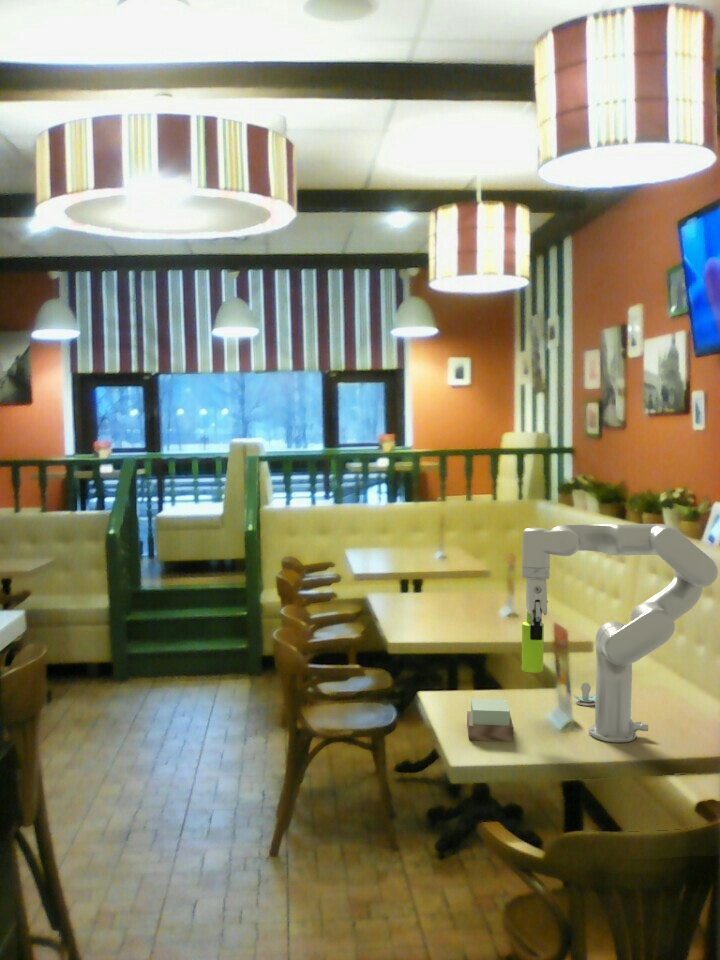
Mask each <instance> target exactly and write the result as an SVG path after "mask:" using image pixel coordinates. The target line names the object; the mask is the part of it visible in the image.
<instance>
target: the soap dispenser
mask: <svg viewBox="0 0 720 960" xmlns="http://www.w3.org/2000/svg"><path fill="white" fill-rule="evenodd" d="M548 603H549V601H548V600H547V604H548ZM533 614H536V612H533ZM521 625H522V627H521V630H522V631H521V671H523V672H526V673H529V674H530V673H531V674H537V673H542V672H544V641H545V640H544V636H545V631H544V630H545V629H544V627H545V624H544V623H543V622H542V640H531V639H530V625H532V623H531V615H530V614H529V612H528V610H527V611H526V621H524V622H522V623H521Z"/></svg>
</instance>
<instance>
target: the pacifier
mask: <svg viewBox="0 0 720 960" xmlns="http://www.w3.org/2000/svg"><path fill="white" fill-rule="evenodd" d="M591 689H592V687H591V685H590V684H589V683H588V682H582V684H581V685H580V690H581V694H582V695H581V696H578V695H575V694H574V695H573V697H574V698H575V699H576V700H578V701H576V704H578V705H579V706H584V707H588V706H589V707H591V706H595V701H596V694H592V695H590V692H591Z"/></svg>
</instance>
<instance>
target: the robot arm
mask: <svg viewBox="0 0 720 960" xmlns="http://www.w3.org/2000/svg"><path fill="white" fill-rule="evenodd" d="M521 550H522V554H521V555H522V556H521V557H522V559H521V562H522V563H521V564H522V565H521V578H522V579H525V605H526V610H527V611H528V612H529V614H530V615H531V623H532V625H530V639H531V640H542V623H543V615H544V616H547V614H548V603H547V601H548V586H547V580H549V579H550V577H551V575H550V572H551V571H550V570H551V569H550V566H551V555H552V556H558V557H570V556H573V555H575V554H576V553H578V551H580V552H581V551H586V552H589V551H590V552H597V553H603V554H606V555H609V556H610V555H611V556H621V557H622V556H659V557H660V558H661V559H662V560H663V561H664V562H665V563H666V564H667V565H669V566H670V568H672V569H673V570H674V576H673V578H672V580H671V582H670V583H669V584H667V586H666V587H664V588H663V589H661V590H660V591H659V592H657V593H656V594H654V595H652V596H651V597H649V598H648V599H646V600H644V601H643V602H641V603H640V604H638V605H636V606H635V607H634V608H633V609H632V611H631V614H630V622H628V623H627V624H626V625H625V624H624V623H621V622H619V621H613V620H612V621H607V622H605V623H603V624H601V626H600V627H599V628H598V629H597V632H596V635H595V657H596V658H595V659H596V660H595V661H596V662H595V663H596V673H595V674H596V675H595V676H596V677H595V695H596V700H594V701H595V705H594V706H595V707H594V708H595V710H594V724H592V725H591V726H590V727H589V728H588V734H589V735H590V736H591V737H593V738H595V739H597V740H600V741H604V742H608V743H628V742H632V741H634V740H635V739H636V738H637V732H638V731H639V732H640V731H641V732H648V731H649V724H648V723H642V721H633V720H632V718H631V716H632V714H631V713H632V691H633V690H632V687H633V664H634V663H635V662H637V661H640V660H641V659H643V658H644V657H646V656H647V655H649V654H650V653H652V652H654V651H655V650H657V649H658V648H660V647H662V646H663V645H664V644H666V643H667V642H668V641H669V640H670V639H671V637H672V636H673V635H674V632H675V627H676V625H675V624H676V623H675V621H677V620H678V619H679V618H681V617H682V616H683V615H685V614H687V613H688V612H689V611H690V610H692V609H693V608H694V607H695V605H697V603H698V602H699V600H700V598H701V596H702V593H703V589H704V588H706V587H707V588H708V587H709V586H712V585H713V583H714V582H715V581H716V580H717V578H718V575H719V574H718V573H719V570H718V567H717V564H716V562H715V561H714V560H713V559H712V558H711V557H710V556H709V555H708V554H707V553H705V552H704V551H703V550H701V548H699V547H698V546H697V545H696V544H695V543H694V542H692V541H691V540H690V539H689V538H688V537H686V536H685V535H684V534H683V533H682V532H681V531H680V530H679V529H677V528H675V527H672V526H670V525H669V524H664V523H639V524H638V523H637V524H627V523H626V524H562V525H557V526H554V527H553V528H552V529H551V530H549V529H547V528H544V527H527V528H525V529H524V530H523V532H522V549H521ZM533 612H536V614H533Z"/></svg>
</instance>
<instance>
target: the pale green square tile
mask: <svg viewBox="0 0 720 960" xmlns="http://www.w3.org/2000/svg"><path fill="white" fill-rule="evenodd" d="M470 701H471V702H470V711H471V716H472V723H473V724H474V725H501V726H510V716H511V712H510V707H509V704H508V700H507V699H491V698H490V699H489V698H471V700H470Z"/></svg>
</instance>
